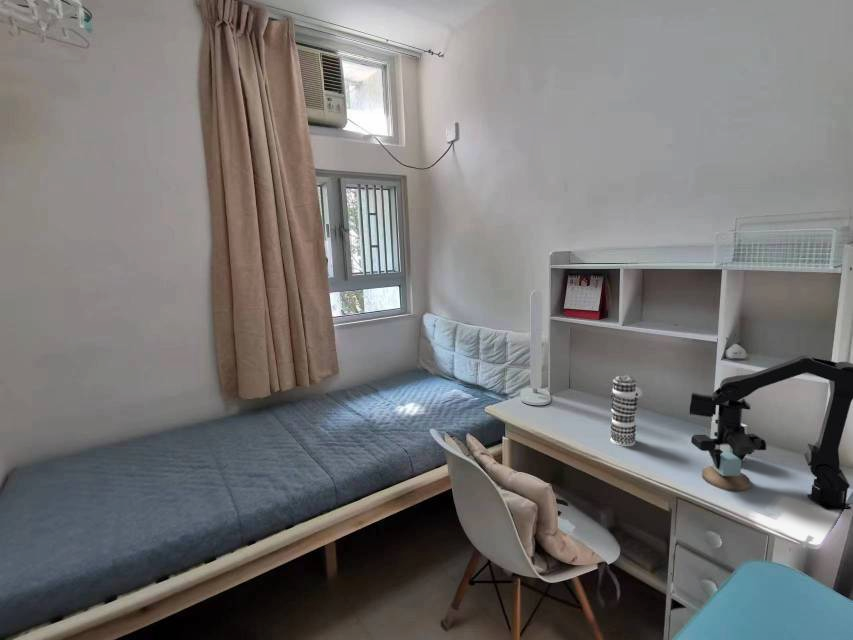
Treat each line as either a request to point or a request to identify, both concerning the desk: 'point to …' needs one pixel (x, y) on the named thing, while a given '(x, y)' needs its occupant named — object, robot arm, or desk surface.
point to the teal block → (729, 465)
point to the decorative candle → (623, 411)
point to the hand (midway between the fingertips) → (726, 468)
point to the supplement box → (724, 447)
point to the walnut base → (725, 480)
